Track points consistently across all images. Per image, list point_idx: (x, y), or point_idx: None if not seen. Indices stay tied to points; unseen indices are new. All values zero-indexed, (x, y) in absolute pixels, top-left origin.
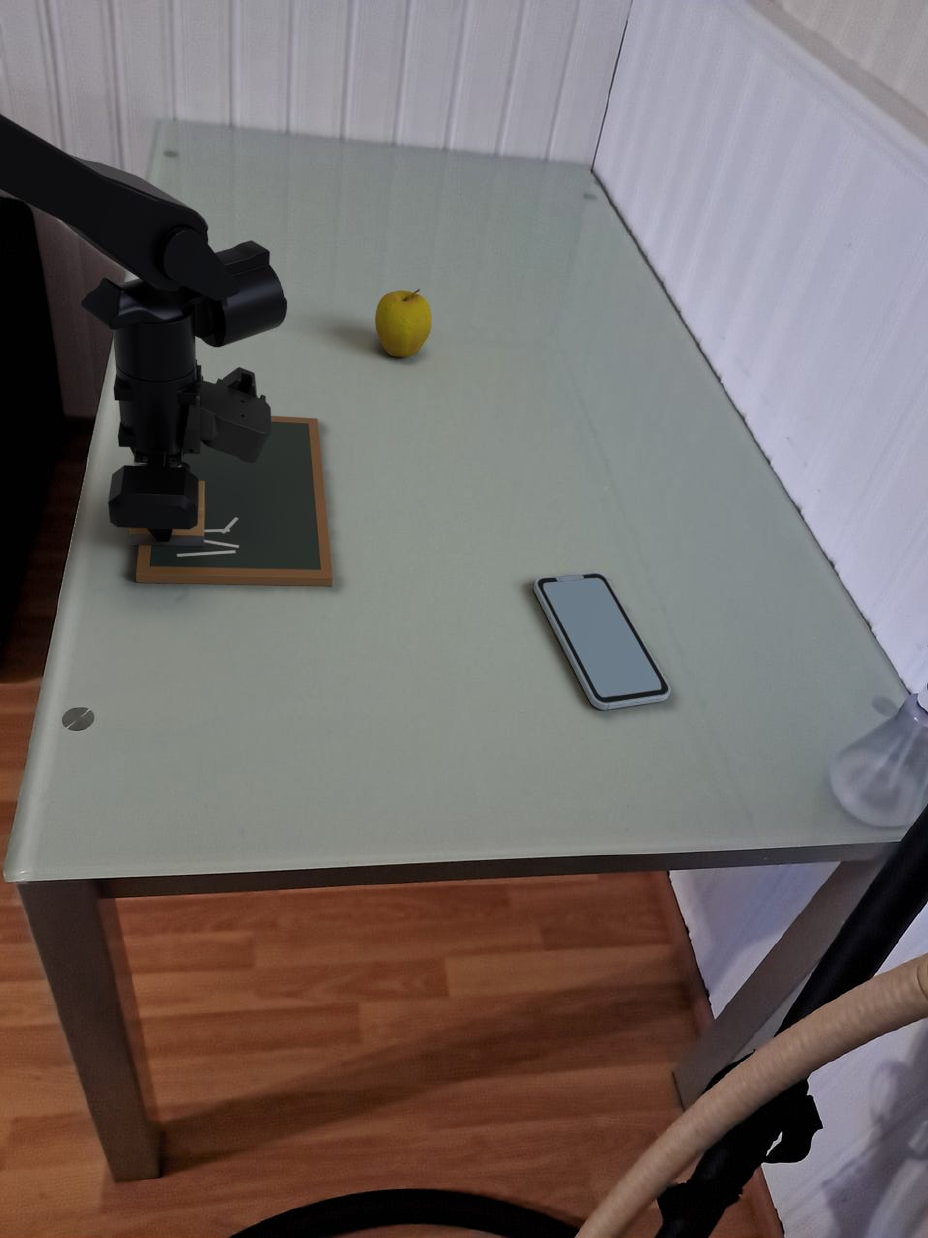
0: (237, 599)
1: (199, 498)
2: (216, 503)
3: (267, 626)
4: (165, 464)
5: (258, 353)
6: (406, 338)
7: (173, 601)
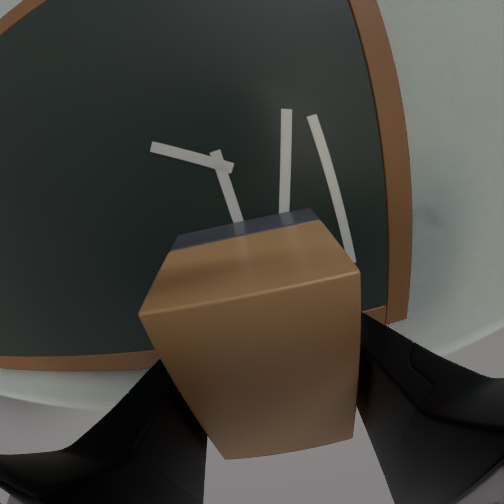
0: (426, 102)
1: (275, 306)
2: (111, 221)
3: (469, 51)
4: (173, 457)
5: None
6: None
7: (440, 230)
